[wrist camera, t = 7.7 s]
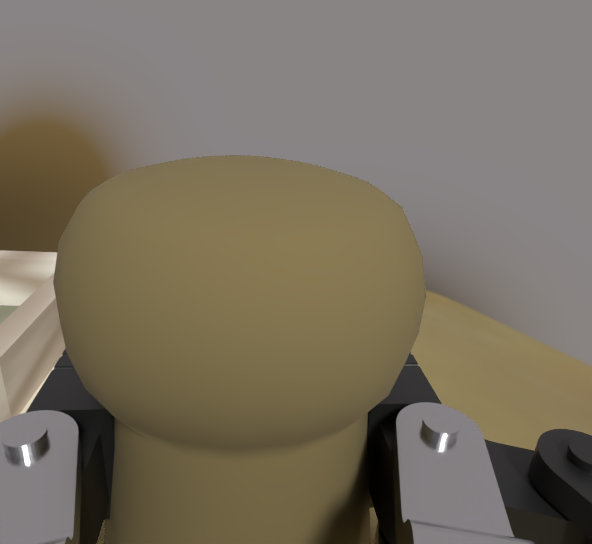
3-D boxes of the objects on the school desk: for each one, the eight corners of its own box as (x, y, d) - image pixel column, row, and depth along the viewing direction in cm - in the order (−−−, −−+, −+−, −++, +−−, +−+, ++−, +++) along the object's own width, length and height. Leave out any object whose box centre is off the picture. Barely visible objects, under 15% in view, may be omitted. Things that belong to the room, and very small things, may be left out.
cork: (96, 569, 12) (28, 131, 8) (311, 509, 14) (349, 136, 10) (93, 938, 7) (-102, 268, 3) (428, 762, 9) (607, 220, 5)
